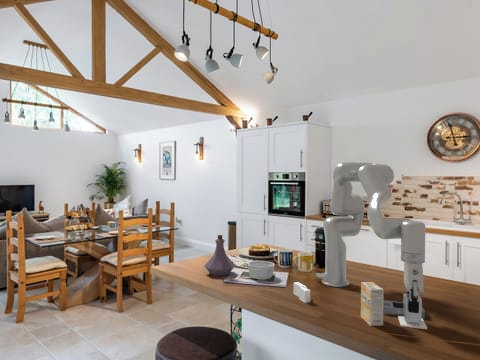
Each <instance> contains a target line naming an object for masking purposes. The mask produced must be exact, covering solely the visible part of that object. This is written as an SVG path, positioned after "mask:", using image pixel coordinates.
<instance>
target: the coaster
mask: <svg viewBox="0 0 480 360" xmlns="http://www.w3.org/2000/svg"><path fill="white" fill-rule="evenodd" d="M397 319H398V322H399V324H400V326H401V327H402V328H403V327H404V328H405V327H406V328H411V329H422V330H428V326H427V324H426V322H425V321H424V320H425V319H422V318H421V323H414V322H406V321H405V320H404V317H403V316H397Z"/></svg>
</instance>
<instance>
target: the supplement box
mask: <svg viewBox="0 0 480 360" xmlns="http://www.w3.org/2000/svg"><path fill="white" fill-rule="evenodd" d="M384 293H385V291H384V288H383V287H381V286H379V285H378V284H376V283H375V282H373V281H361V282H360V318H362V319H363V321H365V323H367V324H368V326H370V327H376V326H377V327H380V326H381V327H382V326H384V314H383V301H385V299H384V298H385V297H384Z"/></svg>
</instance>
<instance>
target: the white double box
mask: <svg viewBox="0 0 480 360" xmlns="http://www.w3.org/2000/svg"><path fill="white" fill-rule="evenodd" d="M292 293H293V295H295V296H296V297H297V298H299V300H300V301H301V302H303V303H304V304H307V303H311V289H309V288H308V287H307V286H306V285H304V284H302V283H301V282H299V281H297V282H296V281H295V282H293V292H292Z"/></svg>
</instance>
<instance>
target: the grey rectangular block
mask: <svg viewBox="0 0 480 360" xmlns="http://www.w3.org/2000/svg"><path fill="white" fill-rule="evenodd" d="M411 295H413V294H411ZM408 300H409V294H406V293H403V299H402V302H403V317H404V320H405V321H406V322H414V323H421V313H422V307H423V304H422V303H423V301H422V297H421V296H420V295H419V313H410V312H409V311H408Z"/></svg>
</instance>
